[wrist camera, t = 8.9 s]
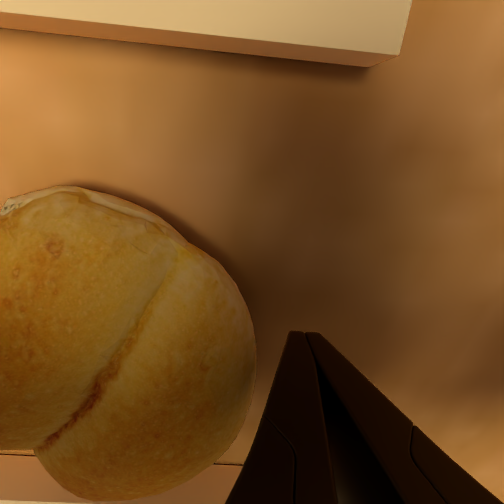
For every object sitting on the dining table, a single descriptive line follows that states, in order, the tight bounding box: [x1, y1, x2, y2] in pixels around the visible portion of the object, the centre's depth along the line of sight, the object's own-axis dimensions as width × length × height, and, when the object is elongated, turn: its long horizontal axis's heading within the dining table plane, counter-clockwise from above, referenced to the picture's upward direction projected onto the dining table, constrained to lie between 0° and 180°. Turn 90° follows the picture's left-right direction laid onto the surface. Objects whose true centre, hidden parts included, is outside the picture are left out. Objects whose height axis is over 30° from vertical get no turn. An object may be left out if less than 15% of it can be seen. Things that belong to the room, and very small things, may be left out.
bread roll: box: [0, 185, 257, 501], centre depth 8 cm, size 8×9×4 cm
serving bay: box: [0, 0, 412, 504], centre depth 9 cm, size 13×16×2 cm
